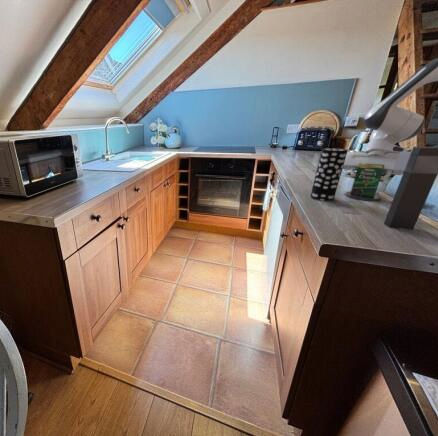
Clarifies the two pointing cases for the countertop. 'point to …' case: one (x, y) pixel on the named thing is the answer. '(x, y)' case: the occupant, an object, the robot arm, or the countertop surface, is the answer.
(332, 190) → the spotted tube
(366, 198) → the coaster
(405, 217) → the tall grey box
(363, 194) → the coffee box
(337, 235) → the countertop surface
